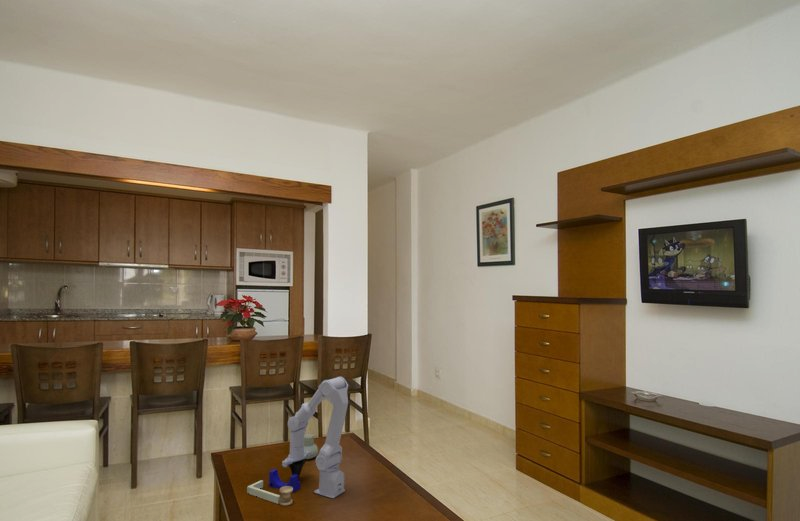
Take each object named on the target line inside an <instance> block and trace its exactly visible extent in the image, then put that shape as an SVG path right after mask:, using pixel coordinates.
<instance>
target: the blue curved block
mask: <svg viewBox="0 0 800 521" xmlns="http://www.w3.org/2000/svg"><path fill="white" fill-rule="evenodd" d="M269 486H270V488H273V487H274V489H276V490H280V488H281V487H284V486H291V487H293V491H292V492H291V493H292V494H293V493H295V492H297V491H298V490H300V489H301V480H299V479H298V475H296V474H294V475H293V476H292V475H290V477H289V481H288V482H284V481H282V479H281V478H280V476H279V472H278V469H277V468H273V469H272V470H269V478H268V487H269Z"/></svg>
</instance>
